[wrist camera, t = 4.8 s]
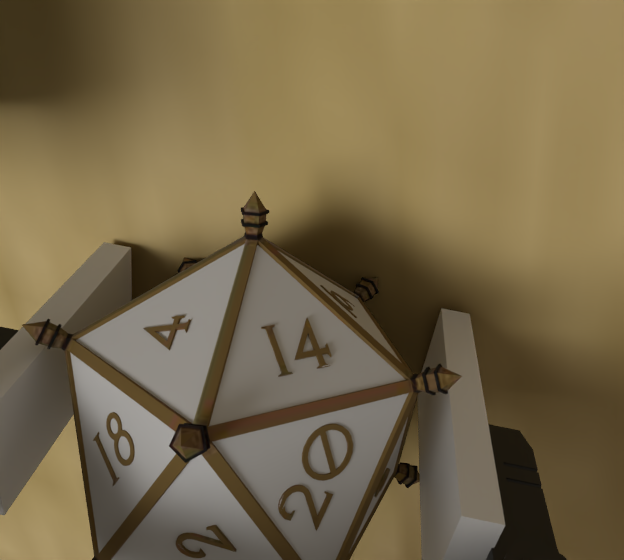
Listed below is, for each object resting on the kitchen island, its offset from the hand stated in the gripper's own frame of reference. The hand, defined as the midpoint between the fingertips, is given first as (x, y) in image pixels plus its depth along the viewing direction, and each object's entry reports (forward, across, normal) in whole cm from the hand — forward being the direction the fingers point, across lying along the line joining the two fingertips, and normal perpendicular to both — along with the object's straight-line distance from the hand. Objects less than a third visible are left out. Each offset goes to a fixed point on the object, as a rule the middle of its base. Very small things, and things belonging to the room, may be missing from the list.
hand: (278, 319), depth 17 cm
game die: (0, 0, 0) cm, 0 cm away
